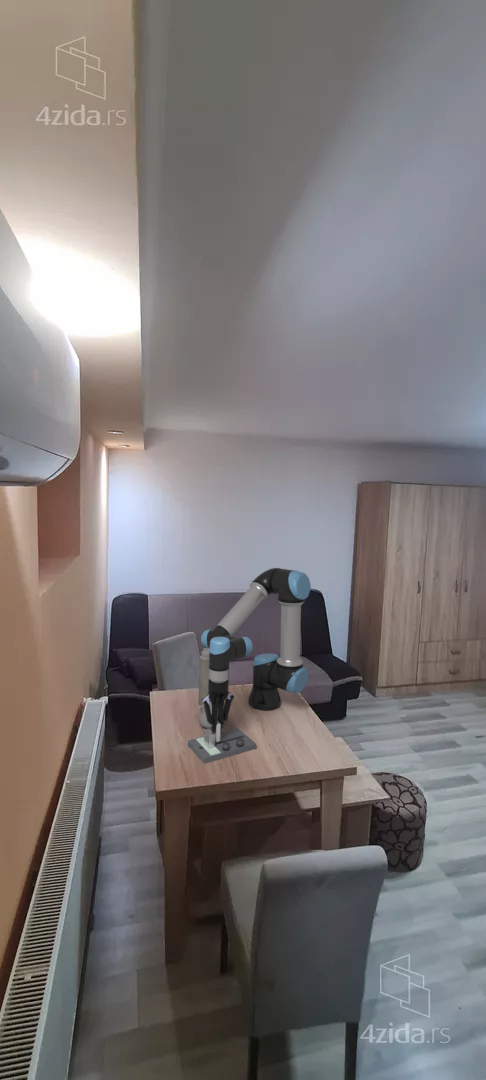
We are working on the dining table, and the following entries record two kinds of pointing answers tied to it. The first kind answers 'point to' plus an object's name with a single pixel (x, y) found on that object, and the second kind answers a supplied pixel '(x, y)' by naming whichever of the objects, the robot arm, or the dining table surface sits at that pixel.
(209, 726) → the teacup
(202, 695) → the thermos bottle
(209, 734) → the fader cap
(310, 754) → the dining table surface
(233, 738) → the console
